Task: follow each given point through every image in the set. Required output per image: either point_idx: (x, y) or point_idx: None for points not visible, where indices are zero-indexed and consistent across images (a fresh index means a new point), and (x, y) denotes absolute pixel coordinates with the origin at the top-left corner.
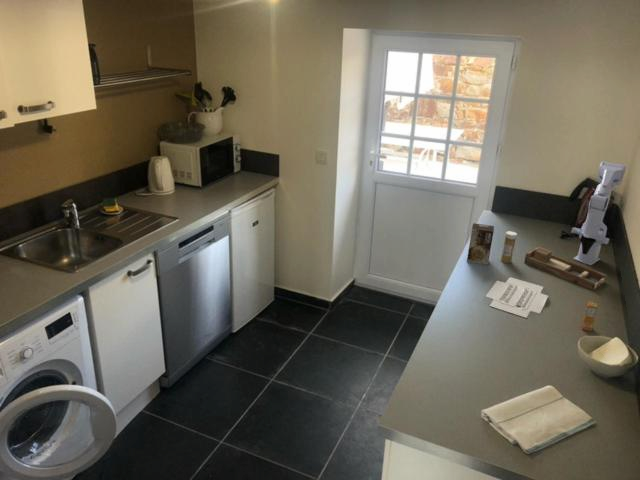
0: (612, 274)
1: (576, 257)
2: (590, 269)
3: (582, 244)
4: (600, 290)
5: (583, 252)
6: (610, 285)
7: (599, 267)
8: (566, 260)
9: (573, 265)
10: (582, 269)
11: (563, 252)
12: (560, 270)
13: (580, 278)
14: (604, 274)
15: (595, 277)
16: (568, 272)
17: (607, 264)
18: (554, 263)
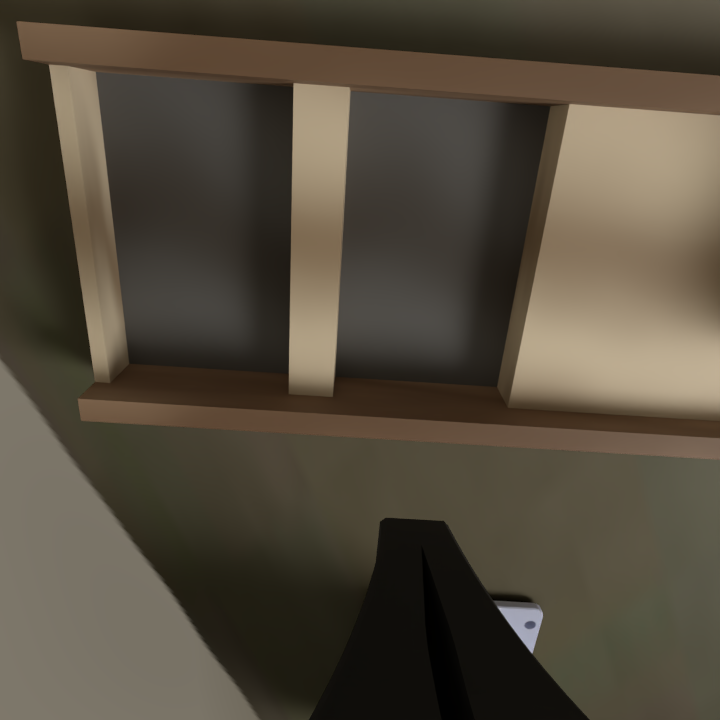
0: (158, 571)
1: (522, 639)
2: (278, 420)
3: (549, 698)
4: (23, 118)
5: (431, 537)
6: (38, 344)
7: (299, 613)
8: (597, 440)
9: (487, 412)
10: (370, 399)
11: (647, 659)
12: (594, 68)
13: (258, 42)
14: (102, 416)
15: (208, 372)
16: (469, 70)
17: (277, 696)
18: (707, 302)
